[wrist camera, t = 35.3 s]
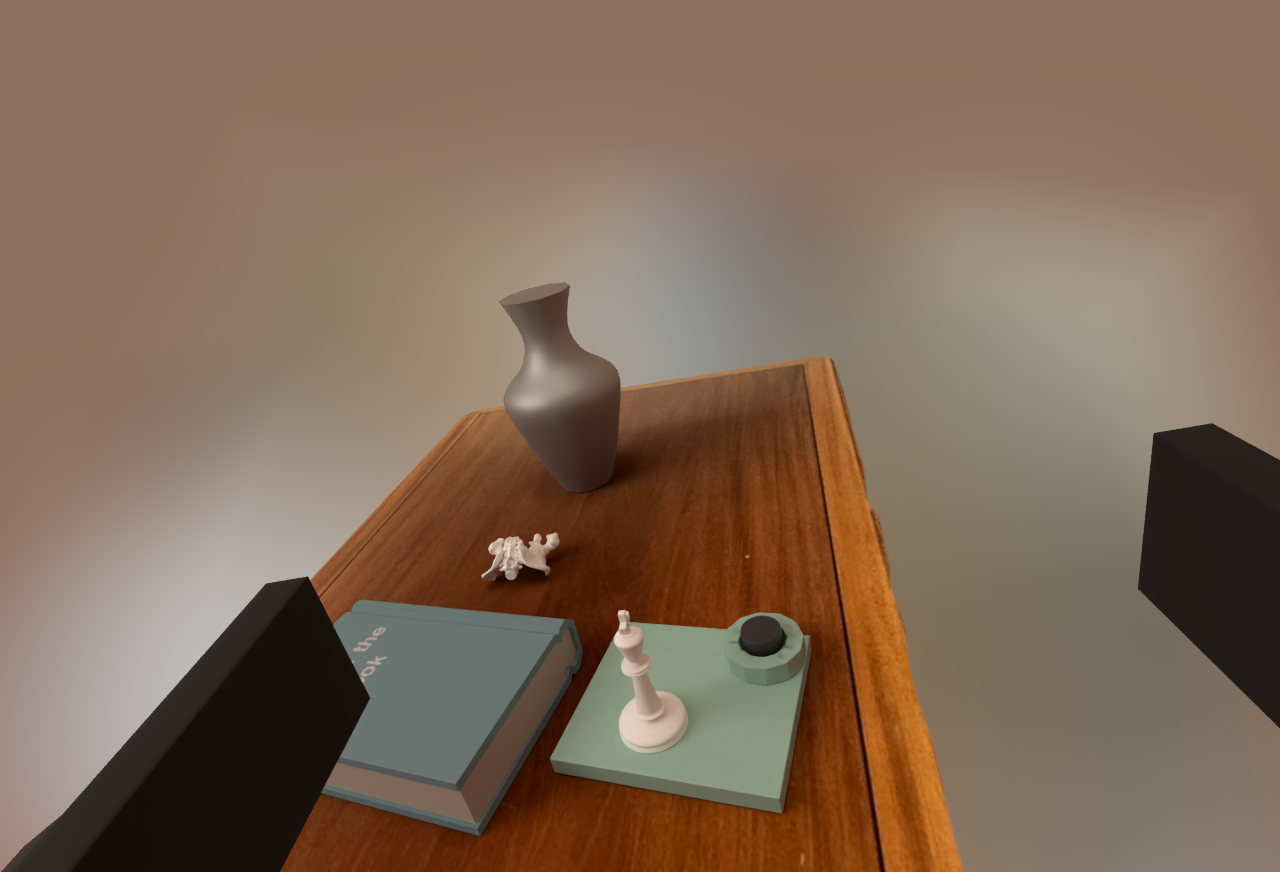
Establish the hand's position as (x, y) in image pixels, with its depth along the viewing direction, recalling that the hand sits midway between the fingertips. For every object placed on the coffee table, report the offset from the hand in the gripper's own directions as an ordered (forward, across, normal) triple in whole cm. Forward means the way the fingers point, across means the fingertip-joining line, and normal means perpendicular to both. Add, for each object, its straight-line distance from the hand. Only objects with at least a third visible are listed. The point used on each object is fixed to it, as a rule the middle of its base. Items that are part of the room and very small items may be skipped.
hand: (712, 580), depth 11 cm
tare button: (+31, +1, -29) cm, 43 cm away
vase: (+68, -18, -32) cm, 77 cm away
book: (+31, -28, -32) cm, 53 cm away
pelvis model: (+49, -23, -32) cm, 63 cm away
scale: (+28, -6, -32) cm, 43 cm away
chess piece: (+26, -8, -31) cm, 41 cm away
